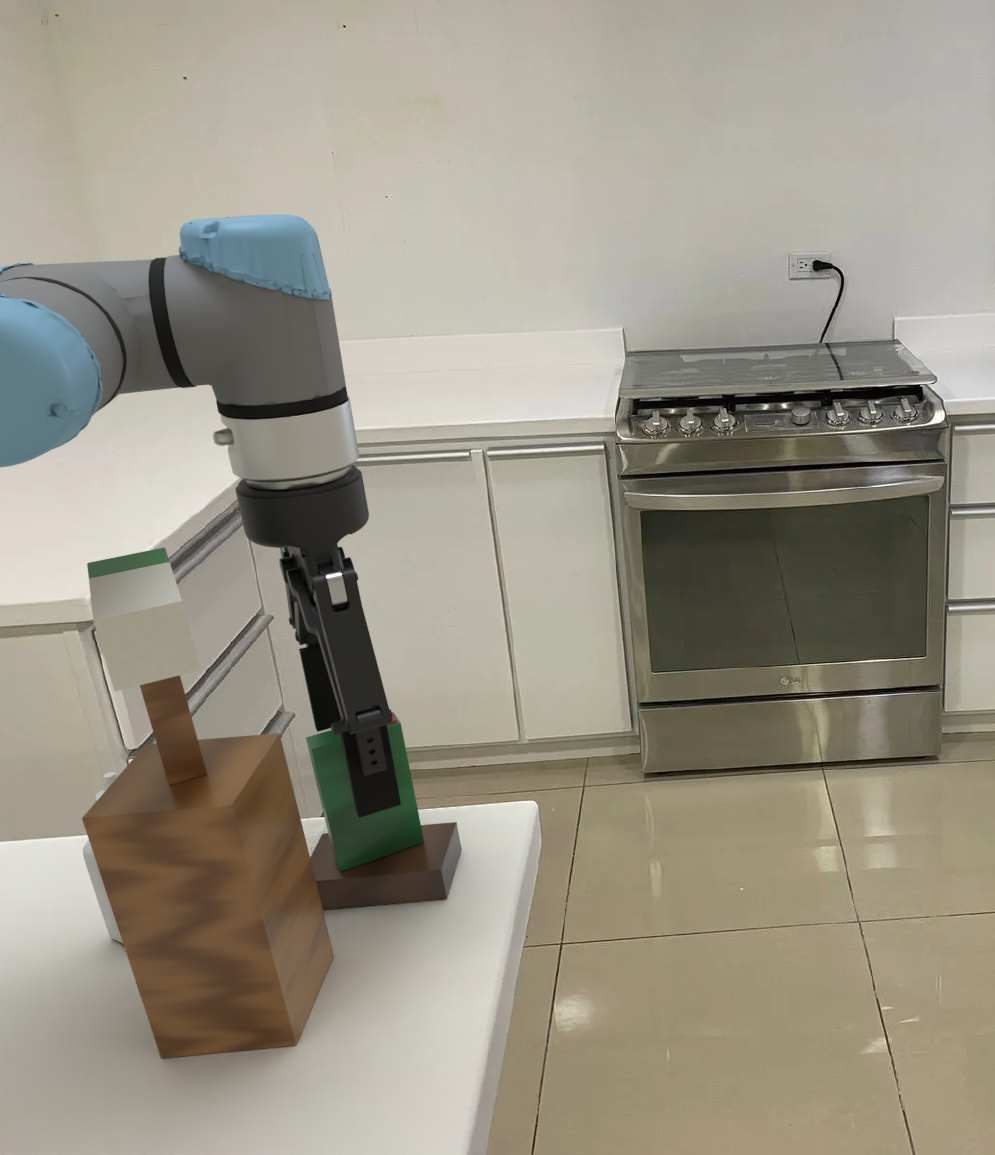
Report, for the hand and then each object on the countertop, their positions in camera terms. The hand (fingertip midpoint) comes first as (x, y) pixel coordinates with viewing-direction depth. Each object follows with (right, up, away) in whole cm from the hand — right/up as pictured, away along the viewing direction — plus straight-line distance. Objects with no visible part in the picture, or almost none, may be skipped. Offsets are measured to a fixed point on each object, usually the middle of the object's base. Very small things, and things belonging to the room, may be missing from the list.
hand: (355, 764), depth 79 cm
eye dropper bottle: (-14, -11, +1) cm, 18 cm away
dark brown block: (+1, -9, +4) cm, 10 cm away
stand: (-4, -14, -8) cm, 16 cm away
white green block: (-5, +9, -17) cm, 20 cm away
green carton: (+1, -7, +3) cm, 7 cm away
